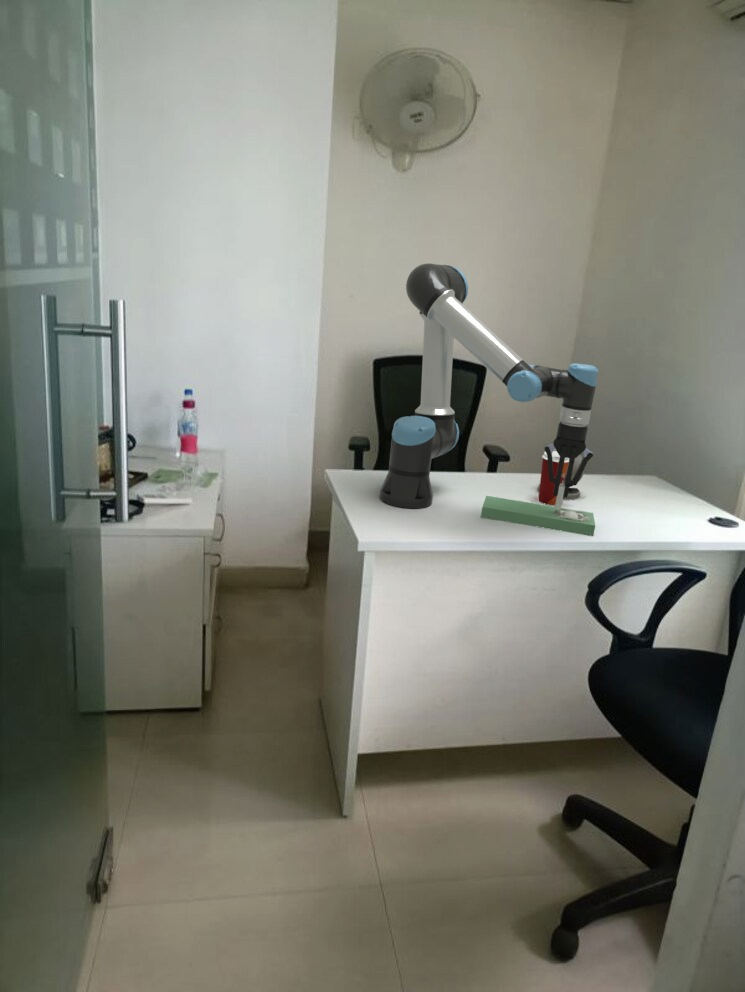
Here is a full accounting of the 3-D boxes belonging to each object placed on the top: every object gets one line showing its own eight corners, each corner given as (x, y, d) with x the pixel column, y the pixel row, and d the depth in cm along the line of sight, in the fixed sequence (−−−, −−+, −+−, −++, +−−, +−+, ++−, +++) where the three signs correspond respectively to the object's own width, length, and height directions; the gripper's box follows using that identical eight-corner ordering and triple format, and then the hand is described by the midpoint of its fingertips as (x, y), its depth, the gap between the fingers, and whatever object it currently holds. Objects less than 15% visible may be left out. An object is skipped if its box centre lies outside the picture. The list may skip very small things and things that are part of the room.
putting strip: (481, 517, 194) (482, 506, 193) (484, 505, 205) (486, 495, 204) (593, 536, 188) (595, 525, 187) (591, 522, 199) (593, 512, 198)
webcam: (584, 493, 226) (593, 448, 221) (571, 502, 215) (581, 455, 211) (545, 484, 232) (553, 440, 227) (531, 492, 222) (539, 446, 217)
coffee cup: (562, 507, 209) (571, 459, 205) (534, 503, 211) (543, 455, 206) (561, 499, 217) (570, 452, 213) (534, 495, 219) (542, 448, 214)
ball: (568, 511, 191) (581, 518, 191) (568, 506, 195) (581, 514, 195) (560, 522, 193) (572, 530, 193) (560, 517, 197) (572, 525, 196)
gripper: (548, 422, 185) (533, 507, 192) (599, 429, 182) (582, 515, 189) (548, 417, 192) (534, 499, 199) (598, 424, 189) (581, 507, 196)
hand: (557, 507), depth 194 cm, fingers closed
